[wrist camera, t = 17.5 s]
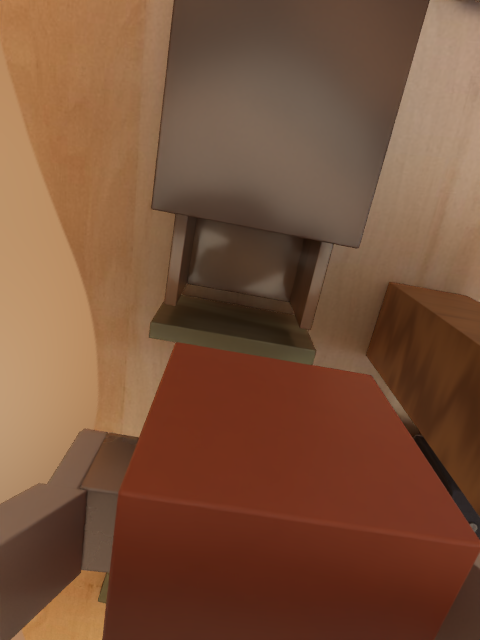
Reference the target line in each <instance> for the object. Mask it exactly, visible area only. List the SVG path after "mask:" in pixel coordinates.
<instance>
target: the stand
mask: <svg viewBox="0 0 480 640" xmlns="http://www.w3.org/2000/svg"><path fill="white" fill-rule="evenodd" d="M366 356H367V357H368V359H369V360H370V361H371V363H372V364H373V366H374V367H375V369H376V370H377V371H378V373H379V374H380V376H381V377H382V379H383V380H384V381H385V383H386V384H387V386H388V387H389V389H390V390H391V391H392V393H393V394H394V396H395V397H396V399H397V400H398V401H399V403H400V404H401V406H402V407H403V408H404V410H405V411H406V413H407V414H408V416H409V417H410V418H411V420H412V421H413V423H414V424H415V426H416V427H417V428H418V430H419V431H420V433H421V434H422V436H423V437H424V438H425V440H426V441H427V443H428V444H429V446H430V447H431V448H432V450H433V451H434V453H435V454H436V456H437V457H438V458H439V460H440V461H441V463H442V464H443V466H444V467H445V468H446V470H447V471H448V473H449V474H450V476H451V477H452V478H453V480H454V481H455V483H456V484H457V485H458V487H459V488H460V490H461V491H462V493H463V494H464V495H465V497H466V498H467V500H468V501H469V503H470V504H471V505H472V507H473V508H474V510H475V511H476V513H477V514H478V515H479V517H480V303H479V302H477V301H475V300H473V299H472V298H470V297H468V296H464V295H459V294H453V293H448V292H442V291H437V290H432V289H426V288H421V287H416V286H410V285H405V284H400V283H394V282H389V285H388V288H387V291H386V294H385V297H384V301H383V304H382V307H381V310H380V313H379V316H378V319H377V322H376V326H375V329H374V332H373V335H372V338H371V341H370V344H369V347H368V351H367V354H366Z"/></svg>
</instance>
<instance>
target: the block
mask: <svg viewBox="0 0 480 640" xmlns="http://www.w3.org/2000/svg"><path fill="white" fill-rule="evenodd" d="M479 553H480V540H479V538H478V537H477V535H476V533H475V532H474V530H473V529H472V527H471V526H470V524H469V523H468V521H467V520H466V518H465V517H464V515H463V514H462V512H461V511H460V509H459V508H458V506H457V505H456V503H455V502H454V500H453V499H452V497H451V495H450V494H449V492H448V491H447V489H446V488H445V486H444V485H443V483H442V482H441V480H440V479H439V477H438V476H437V474H436V473H435V471H434V470H433V468H432V467H431V465H430V464H429V462H428V461H427V459H426V457H425V456H424V454H423V453H422V451H421V450H420V448H419V447H418V445H417V444H416V442H415V441H414V439H413V438H412V436H411V435H410V433H409V432H408V430H407V429H406V427H405V426H404V424H403V423H402V421H401V420H400V418H399V416H398V415H397V413H396V412H395V410H394V409H393V407H392V406H391V404H390V403H389V401H388V400H387V398H386V397H385V395H384V394H383V392H382V391H381V389H380V388H379V386H378V385H377V383H376V382H375V380H374V378H373V377H372V376H371V375H367V374H361V373H355V372H349V371H343V370H338V369H332V368H326V367H320V366H314V365H308V364H302V363H297V362H291V361H285V360H279V359H273V358H267V357H261V356H256V355H250V354H244V353H238V352H232V351H226V350H220V349H215V348H209V347H203V346H197V345H191V344H185V343H179V342H176V343H175V345H174V348H173V350H172V353H171V356H170V358H169V361H168V363H167V366H166V369H165V371H164V374H163V376H162V379H161V382H160V384H159V387H158V389H157V392H156V395H155V397H154V400H153V403H152V405H151V408H150V410H149V413H148V416H147V418H146V421H145V423H144V426H143V429H142V431H141V434H140V437H139V439H138V442H137V444H136V447H135V450H134V452H133V455H132V457H131V460H130V463H129V465H128V468H127V471H126V473H125V476H124V478H123V481H122V484H121V486H120V489H119V491H118V498H117V508H116V517H115V526H114V536H113V545H112V555H111V564H110V573H109V583H108V592H107V601H106V611H105V620H104V630H103V639H102V640H434V639H435V637H436V635H437V633H438V632H439V630H440V628H441V626H442V624H443V622H444V620H445V618H446V616H447V614H448V612H449V610H450V609H451V607H452V605H453V603H454V601H455V599H456V597H457V595H458V593H459V591H460V589H461V587H462V586H463V584H464V582H465V580H466V578H467V576H468V574H469V572H470V570H471V568H472V566H473V564H474V563H475V561H476V559H477V557H478V555H479Z"/></svg>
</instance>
